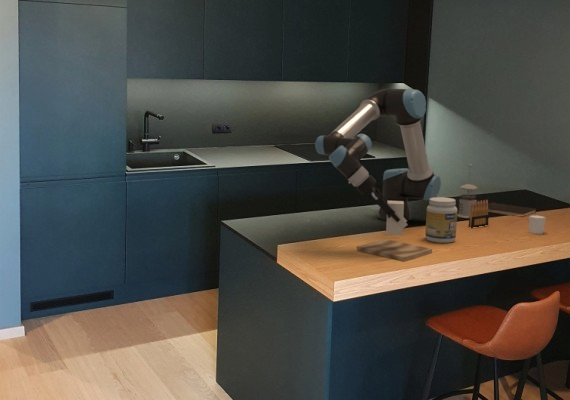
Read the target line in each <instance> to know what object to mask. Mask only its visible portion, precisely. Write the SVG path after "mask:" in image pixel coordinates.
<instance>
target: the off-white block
mask: <svg viewBox="0 0 570 400" xmlns="http://www.w3.org/2000/svg"><path fill="white" fill-rule="evenodd" d="M387 204H388V205H389V206H390V207H391V208H392V209H393V210H394V211H395V212H396V213H397V214H398V215H399V216H400V217H401V218H402V219H403V214H404V202H403V201H387ZM385 225H386V228H385V230H386V231H385V232H386V233H385V235H386V236H400V237H401V236H403V234H404V233H403V231H404V229H401V228H400V227H399V226H398V225H397V224H396V223H395V222H394V220H393V219H392V218H391V217H390V218H388V215H387V221H386V224H385Z"/></svg>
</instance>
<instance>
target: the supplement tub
mask: <svg viewBox="0 0 570 400" xmlns="http://www.w3.org/2000/svg"><path fill="white" fill-rule="evenodd" d="M428 202H429V204H428V205H427V207H426V218H425V219H426V220H425V234H424V235H425V237H424V238H425V239H426V240H427V241H429V242H433V243H437V244H438V243H439V244H448V243H453V242H455V241H456V239H457V238H456V237H457V225H458V223H457V222H458V221H457V220H458V216H457V214H458V208H457V206H456V205H457V203H456V199H455V198H452V197H451V198H450V197H442V196H441V197H438V196H437V197H434V198H430V200H428Z"/></svg>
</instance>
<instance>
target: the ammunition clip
mask: <svg viewBox="0 0 570 400" xmlns="http://www.w3.org/2000/svg"><path fill="white" fill-rule="evenodd" d="M488 204H489V201H488V199H486V200H485V199H484V200H482V199H481V200H478V201H477V202H476V201H475V203H474V202H472V205H471V211H470V216H469V218H468V228H469V227H471V228H470V229H474V228H473V227H478V228H480V227H479V226H484V227H486V226H485V225H488V226H489V216H490V215H489V212H488Z"/></svg>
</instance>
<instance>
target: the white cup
mask: <svg viewBox="0 0 570 400" xmlns="http://www.w3.org/2000/svg"><path fill="white" fill-rule="evenodd" d="M546 219H547V217H546V216H543V215H536V214H535V215H534V214H533V215H532V214H530V215H528V232H529V233H530V234H534V235H542V234H544V230H545V223H546Z"/></svg>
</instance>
